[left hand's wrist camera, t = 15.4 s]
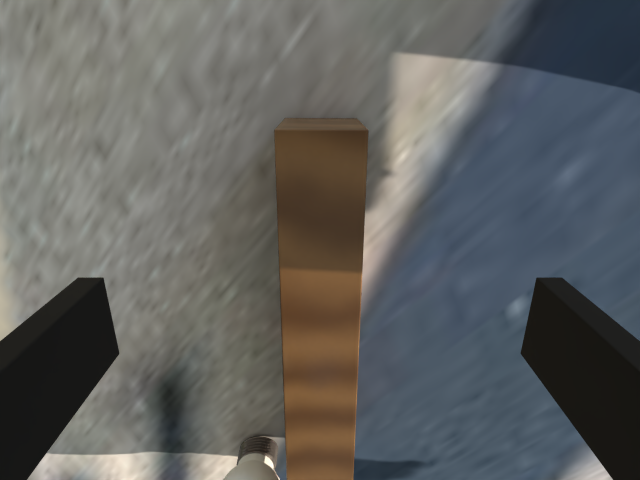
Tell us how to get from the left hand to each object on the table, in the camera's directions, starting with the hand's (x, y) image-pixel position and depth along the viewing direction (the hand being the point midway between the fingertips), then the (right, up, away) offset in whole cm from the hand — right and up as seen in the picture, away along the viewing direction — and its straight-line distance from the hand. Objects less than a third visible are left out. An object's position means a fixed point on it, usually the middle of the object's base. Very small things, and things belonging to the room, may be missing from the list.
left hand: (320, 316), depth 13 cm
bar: (0, -4, +27) cm, 27 cm away
